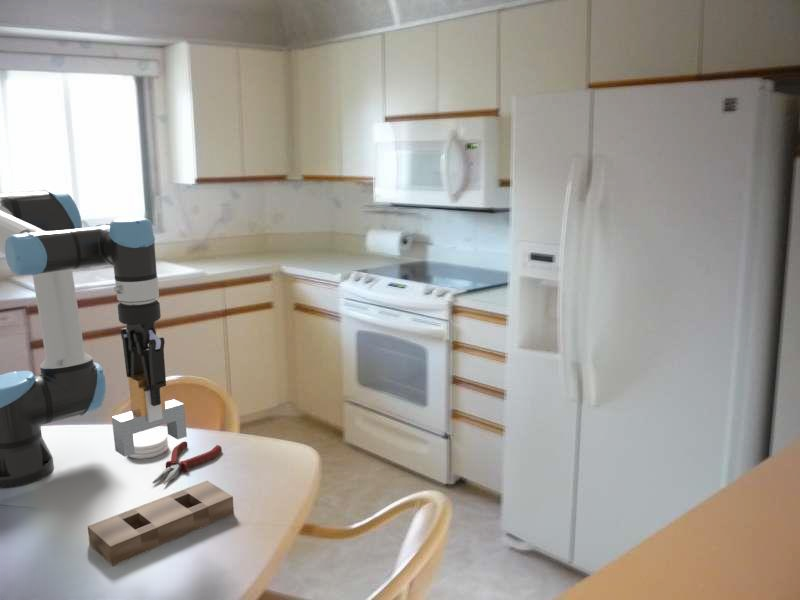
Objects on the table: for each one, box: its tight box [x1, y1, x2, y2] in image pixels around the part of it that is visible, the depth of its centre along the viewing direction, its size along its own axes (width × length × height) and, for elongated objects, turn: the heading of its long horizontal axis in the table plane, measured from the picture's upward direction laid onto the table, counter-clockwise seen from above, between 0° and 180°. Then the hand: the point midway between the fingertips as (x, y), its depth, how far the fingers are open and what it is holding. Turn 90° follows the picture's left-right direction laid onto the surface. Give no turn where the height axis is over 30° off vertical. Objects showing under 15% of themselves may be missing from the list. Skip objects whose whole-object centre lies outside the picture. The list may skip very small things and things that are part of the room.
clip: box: [111, 373, 188, 458], centre depth 142 cm, size 4×13×14 cm, turn 135°
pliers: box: [152, 441, 223, 485], centre depth 173 cm, size 12×20×3 cm, turn 166°
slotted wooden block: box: [87, 480, 235, 567], centre depth 146 cm, size 10×26×4 cm, turn 135°
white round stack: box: [128, 430, 169, 460], centre depth 182 cm, size 10×10×4 cm
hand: (149, 416), depth 142 cm, fingers closed on clip, 4 cm apart
